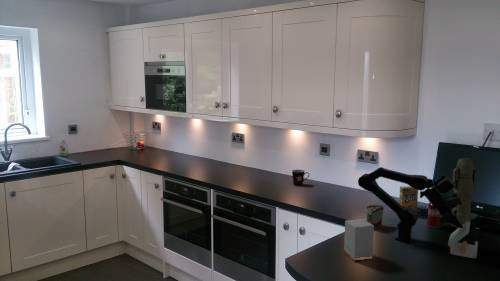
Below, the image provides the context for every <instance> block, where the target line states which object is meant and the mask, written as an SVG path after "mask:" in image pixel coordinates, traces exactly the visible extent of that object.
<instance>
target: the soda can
mask: <svg viewBox="0 0 500 281" xmlns="http://www.w3.org/2000/svg"><path fill="white" fill-rule="evenodd" d="M427 205H428V206H427V207H428V208H427V221H426V225H427V227H430V228H433V229H441V228H442V227H443V225H444V224H442V223H441V222H440V221H439V218H440V216H441V215H440V214H439V213H440V212H439V211H438V210H437V209H436V208H433V205H432V203H431V202H430V201H429V203H428V204H427Z"/></svg>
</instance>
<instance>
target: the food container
mask: <svg viewBox="0 0 500 281" xmlns="http://www.w3.org/2000/svg"><path fill="white" fill-rule="evenodd" d="M384 210H385V207H384V205H381V204H380V205H379V204H372V205H367V206H366V207H365V210H364V213H365V214H366V221H367V222H369V223H370V224H372V225H374V228H375V229H377V228H379V227H380V226H382V225H383V224H382V223H383V214H384Z"/></svg>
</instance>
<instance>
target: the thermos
mask: <svg viewBox="0 0 500 281" xmlns="http://www.w3.org/2000/svg"><path fill="white" fill-rule="evenodd" d="M474 165H475V164H474V160H473V159H472V158H469V157H460V158H458V160H457V162H456V167H454V169H453V170H452V179H451V180H452V181H453V182H454V183H455V185H456V186H455V187H454V188H453V194H454V193H456V194H458V195H460V196H461V198H462V201H463V204H461V205H457V207H454V208H453V209H452V210H454V211H455V210H456V209H457V216H458V218H459V220H460V222H461V223H462V225H463V224H464V223H465V222H467V221H469V222H470V223H471V221H472V213H471V206H472V195H473V194H474V188H475V187H476V179H477V169H476V167H475V166H474ZM450 225H451V226H452V227H455V228H456V229H458V228H459V227H457V226H455V225H453V224H451V223H450Z"/></svg>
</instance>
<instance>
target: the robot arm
mask: <svg viewBox="0 0 500 281" xmlns="http://www.w3.org/2000/svg"><path fill="white" fill-rule="evenodd" d="M379 178H382V179H383V178H384V179H386V180H387V179H388V180H392V181H395V182H398V183H403V184H406V185H408V187H413V188H415V189H417V190H418V191H419V198H420V199H422V198H423V197H425V198H426V199H427V201H429V202H431V203H432V205H433V208H436V209H437V210H438V211H439V212H440V213H439V214H440V215H441V216H440V218H439V221H440V222H441V223H442V224H443V225H444V224H445V223H449V224H450V225H451V224H453V225H455V226H457V227H459V228H463V225H462V223H461V222H460V220H459V218H458V216H457V209H456V210H455V211H454V210H453V208H454V207H457V205H461V204H463V201H462V198H461V196H460V195H458V194H456V193H454V192H453V193H452V194H451V195H452V196H451V197H448V198H447V197H446V196H443V195H442V194H446V193H448V192H450V191H451V190H452V189H454V187H455V186H456V185H455V183H454V182H453V181H452V180H453V179H452V178H450V177H449V176H448V175H446V174H445V173H444V174H442V175H441V176H440V177H439V178H438V179H436V180H435V179H431V178H428V177H427V176H426V175H423V174H422V175H421V174H407V173H404V172H399V171H396V170H392V169H388V168H384V167H382V166H380V167H378V168H376V169H375V170H374V171H372V172H370V173H364V174H362V175H361V176H360V177H359V178H358V180H357V184H358V186H359V187H360V188H361V189H363V190H365V191H367V192H369V193H372V194H373V195H374V196H375V197H377V198H378V200H380V201H381V202H383V203H384V204H385V205H386V206H388V208H389V209H391V210H392V211H393V212H394V213H395V214H396V215H397V217H398V219H399V221H398V223H397V228H398V231H397V232H398V233H397V237H395V238H394V240H396V241H399V242H401V243H404V244H409V243H411V242H413V241H415V238H412V230H413V227H414V226H415V225H416V224H417V222H418V220H419V218H418V217H419V216H418V213H417V214H416V211H414V210H413V209H412V208H411V207H410V206H408V208H406V207H403V206H402V205H401V204H399V201H397V200H396V199H395V198H394V197H392V196H391V195H390V194H389V193H388V192H387V191H385V190H384V188H382V187H381V186H380V185H379V184H378V181H377V180H378V179H379ZM457 227H456V228H457Z"/></svg>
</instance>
